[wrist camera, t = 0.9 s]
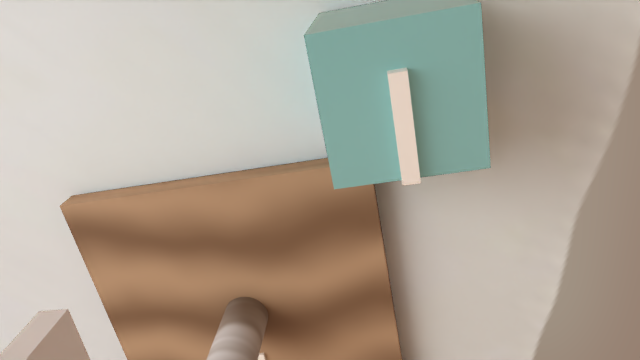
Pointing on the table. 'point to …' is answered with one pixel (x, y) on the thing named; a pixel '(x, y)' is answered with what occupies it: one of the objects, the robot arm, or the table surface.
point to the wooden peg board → (241, 266)
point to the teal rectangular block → (400, 90)
